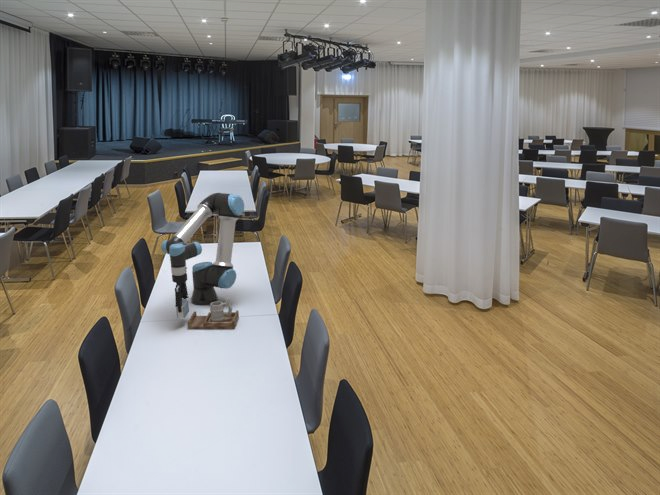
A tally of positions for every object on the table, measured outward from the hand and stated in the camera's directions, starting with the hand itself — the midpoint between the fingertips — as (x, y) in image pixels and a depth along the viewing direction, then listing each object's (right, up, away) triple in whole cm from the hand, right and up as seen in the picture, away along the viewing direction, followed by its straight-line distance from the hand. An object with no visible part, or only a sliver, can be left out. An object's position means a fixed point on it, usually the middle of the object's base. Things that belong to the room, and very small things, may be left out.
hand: (183, 313), depth 290 cm
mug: (+20, -4, +1) cm, 20 cm away
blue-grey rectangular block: (0, 0, 0) cm, 0 cm away
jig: (+16, -5, +1) cm, 17 cm away
